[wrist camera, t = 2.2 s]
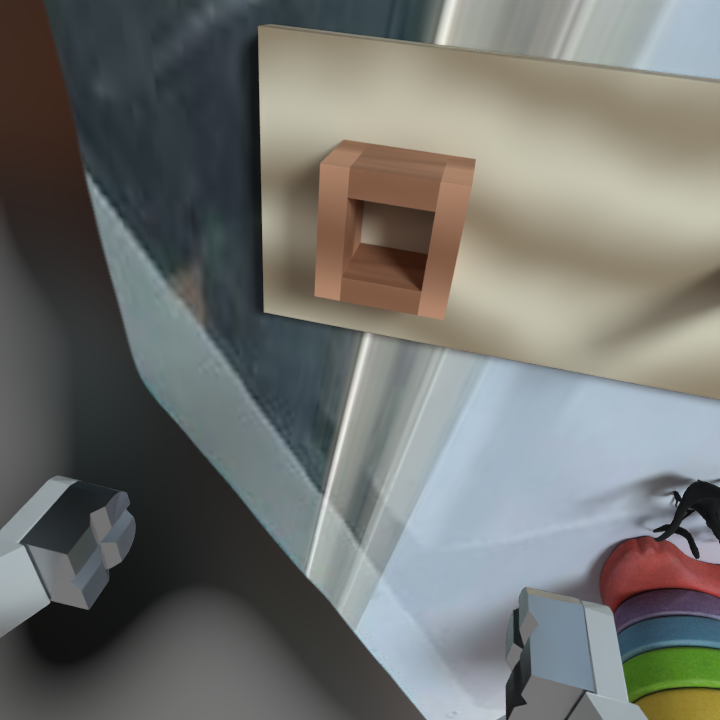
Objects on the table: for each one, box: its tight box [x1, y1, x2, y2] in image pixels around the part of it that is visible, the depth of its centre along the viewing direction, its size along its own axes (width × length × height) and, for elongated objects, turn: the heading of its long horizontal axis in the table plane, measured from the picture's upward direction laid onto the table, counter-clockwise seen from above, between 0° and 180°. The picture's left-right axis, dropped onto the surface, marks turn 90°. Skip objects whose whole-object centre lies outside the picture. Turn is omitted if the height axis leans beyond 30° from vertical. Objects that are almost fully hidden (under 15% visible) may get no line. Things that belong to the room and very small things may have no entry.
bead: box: [314, 140, 476, 320], centre depth 24 cm, size 6×6×4 cm
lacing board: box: [258, 24, 720, 400], centre depth 22 cm, size 14×30×10 cm, turn 85°
